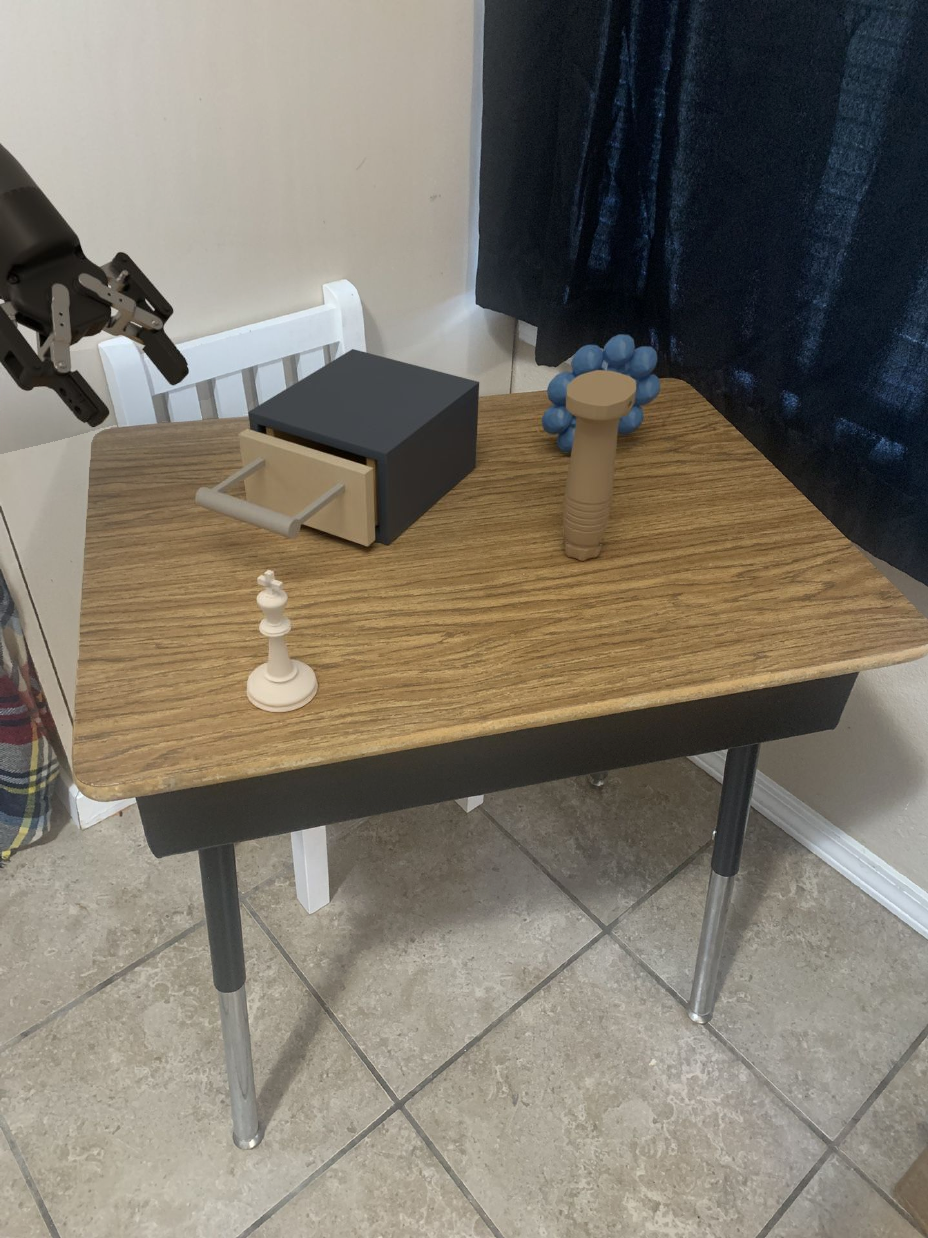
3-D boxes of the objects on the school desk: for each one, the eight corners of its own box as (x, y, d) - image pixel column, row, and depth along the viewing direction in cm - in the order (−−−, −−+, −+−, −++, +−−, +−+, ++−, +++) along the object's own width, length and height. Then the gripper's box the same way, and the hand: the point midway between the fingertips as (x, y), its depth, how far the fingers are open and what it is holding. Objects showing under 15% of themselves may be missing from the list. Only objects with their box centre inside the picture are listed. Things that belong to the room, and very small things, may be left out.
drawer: (312, 595, 76) (306, 519, 71) (186, 547, 80) (173, 473, 76) (453, 471, 91) (455, 403, 87) (341, 438, 96) (337, 371, 92)
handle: (622, 542, 84) (647, 379, 75) (591, 579, 80) (614, 411, 71) (571, 526, 86) (590, 365, 77) (538, 561, 82) (554, 395, 73)
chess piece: (273, 657, 71) (259, 543, 65) (331, 678, 70) (322, 563, 63) (232, 698, 68) (213, 581, 62) (292, 721, 66) (279, 604, 60)
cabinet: (388, 545, 83) (386, 453, 78) (258, 501, 88) (247, 411, 83) (476, 467, 94) (479, 381, 89) (356, 431, 99) (352, 348, 94)
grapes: (634, 427, 102) (651, 314, 94) (659, 458, 97) (679, 341, 89) (526, 436, 99) (535, 321, 92) (546, 469, 94) (557, 350, 87)
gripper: (-74, 208, 64) (93, 411, 67) (89, 163, 74) (227, 341, 77) (-102, 274, 69) (54, 460, 72) (54, 224, 79) (185, 389, 82)
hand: (143, 399), depth 74 cm, fingers open, 8 cm apart
